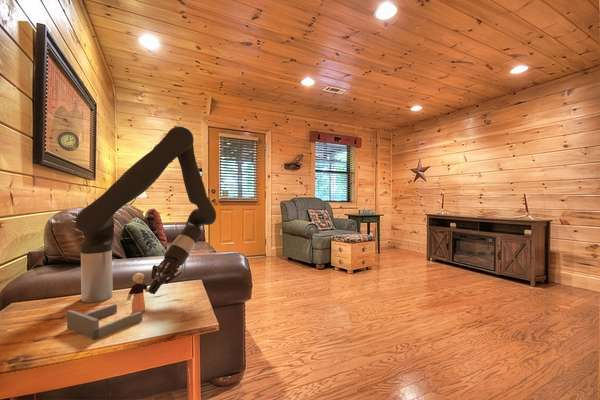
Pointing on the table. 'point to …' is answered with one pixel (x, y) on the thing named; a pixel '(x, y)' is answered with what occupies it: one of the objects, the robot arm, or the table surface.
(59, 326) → the table surface
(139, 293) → the grandmother figurine
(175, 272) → the robot arm
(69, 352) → the table surface
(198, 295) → the table surface
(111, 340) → the table surface
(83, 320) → the charcoal bay
